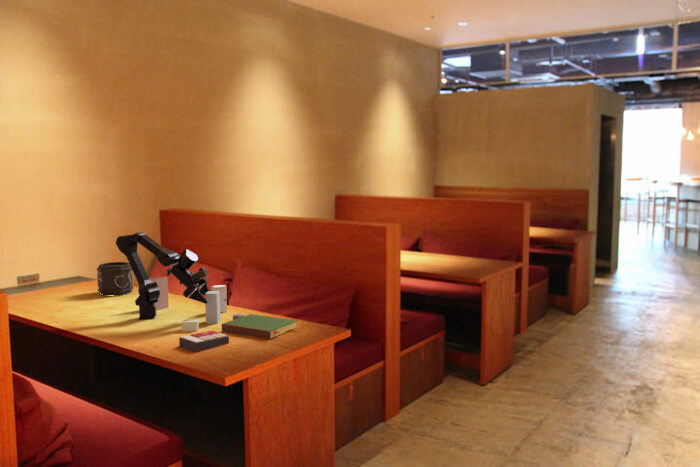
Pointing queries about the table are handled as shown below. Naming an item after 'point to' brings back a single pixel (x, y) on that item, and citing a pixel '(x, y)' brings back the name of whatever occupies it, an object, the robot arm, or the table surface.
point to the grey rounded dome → (237, 316)
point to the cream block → (190, 325)
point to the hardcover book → (258, 326)
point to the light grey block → (212, 306)
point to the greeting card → (161, 292)
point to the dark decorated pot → (115, 278)
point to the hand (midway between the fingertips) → (209, 300)
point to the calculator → (203, 340)
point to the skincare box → (221, 296)
